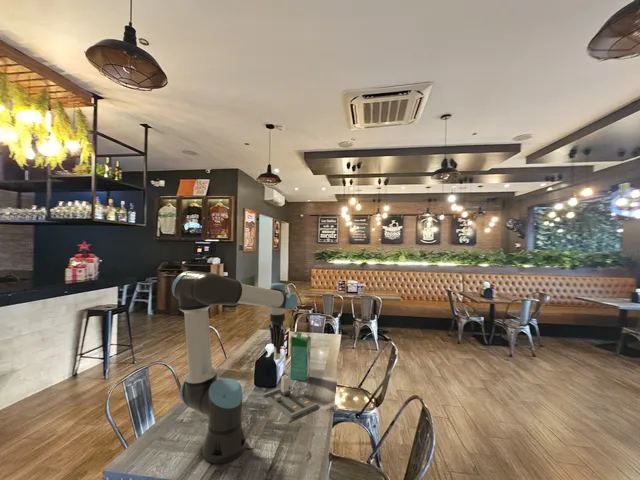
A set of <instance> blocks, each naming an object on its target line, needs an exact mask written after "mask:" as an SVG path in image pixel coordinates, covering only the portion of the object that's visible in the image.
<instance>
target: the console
mask: <svg viewBox="0 0 640 480" xmlns="http://www.w3.org/2000/svg"><path fill="white" fill-rule="evenodd" d="M279 390H281V387H278V388H276V389H273V390H269V391H267V392H264V393H263V394H262V396H261V397H262V398H263V399H264V400H266V401H267V403H269V404H270V405H272V406H273V407H275V409H277V410H278V411H279V412H281V413H282V414H283V415H284V416H285V417H287V418H288V419H289V420H290V421H289V422H288V423H293V422H295V421H297V420H300V419H301V418H303V417H306V416H309V415H310V414H313V413H314V412H316V411H319V409H320V408H318V407H320V406H319V403H317V402H313V401H311V400H310V399H309V398H307V397H306V396H304V395H303V394H301V393H299V392H298V391H297V390H295V389H293V388H292V387H291V385H290V384H289V391H291V394H288V395H285V396H284V395H283V394H281V393H280V392H279ZM309 411H310V412H309ZM304 413H305V414H304Z"/></svg>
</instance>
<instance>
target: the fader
mask: <svg viewBox="0 0 640 480" xmlns="http://www.w3.org/2000/svg"><path fill="white" fill-rule="evenodd" d="M280 377H281V379H280V381H281V382H280V384H281V385H280V388H281V390H279V392H280V393H281V394H283V395H284V396H285V395H288V394H291V391H289V385H290V376H289V375H288V374H285V375H283V376H280Z"/></svg>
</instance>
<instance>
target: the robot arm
mask: <svg viewBox="0 0 640 480" xmlns="http://www.w3.org/2000/svg"><path fill="white" fill-rule="evenodd" d="M171 292H172V295H173V297H174V298H175V299H176V300H178V306H179V308H178V309H179V311H181V312H183V313H184V326H185V327H184V328H185V340H186V343H185V344H186V354H187V356H186V357H187V367H188V368H187V370H188V373H186V375H185V377H184V380H183V382H182V384H181V386H180V390H179V397H180V399H181V402H182V403H183V404H184V405H186V406H187V407H188V408H190V409H192V410H194V411H196V412H198V413H200V414H202V415H205V416H206V417H208V420H207V421H208V424H207V427H208V428H207V429H208V430H207V432H206V435H205V437H204V438H205V439H204V441H203V443H202V449H201V451H202V453H201V454H202V458H203V459H204V460H205V461H206V462H208V463H211V464H217V465H219V464H220V465H221V464H226V463H229V462H232V461H234V460H236V459H238V458H239V457H240V456H242V454H243V453H244V451H245V450H246V446H247V445H246V443H247V438H246V436H245V433H244V432H245V431H244V428H243V426H242V414H243V388H242V385H241V383H240V382H239V381H237V380H236V379H233V378H228V379H227V378H220V379H218V376H217V375H218V373H217V372H218V371H217V369H216V368H215V367H213V362H212V361H213V357H212V348H211V347H212V346H211V333H210V331H211V330H210V320H209V319H210V317H209V309H210V308H211V306H235V305H237V304H239V305H240V304H243V305H250V306H255V307H258V308H260V307H267V308H269V309H270V312H269V313H270V314H269V316H270V317H269V318H270V319H269V321H270V322H271V324H269V325H268V328H269V333H270V343H271V345H272V346H273V360H275V361H277V360H280V359H281V347H284V342H285V337H286V332H287V328H284V321H285V320H286V314H285V313H286V310H287V311H288V310H294V309H296V307H297V305H298V300H299V299H298V296H297V294H295V293H293V292H286V285H285V283H281V282H274V283H271V285H270V288H266V287H260V286H255V285H250V284H249V285H248V284H245V283H242V282H241V281H240V280H237V279H233V278H230V277H226V276H224V275H220V274H218V273H213V272H206V271H205V272H204V271H199V270H191V271H190V270H189V271H187V270H186V271H183V272H181V273H180V274H178V275H177V277H176V278H175V279H174V280H173V282H172V285H171Z"/></svg>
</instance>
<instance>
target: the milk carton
mask: <svg viewBox="0 0 640 480" xmlns="http://www.w3.org/2000/svg"><path fill="white" fill-rule="evenodd" d="M290 338H291V340H290V343H291V344H290V376H289V380H295V381H305V382H306V381H307V380H308V379H310V377H311V344H312V343H311V341H312V339H311V338H312V337H311V336H309V335H307V334H304V333H300V332H298V331H295V332H294V333H293V334H292V335H291V337H290Z"/></svg>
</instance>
